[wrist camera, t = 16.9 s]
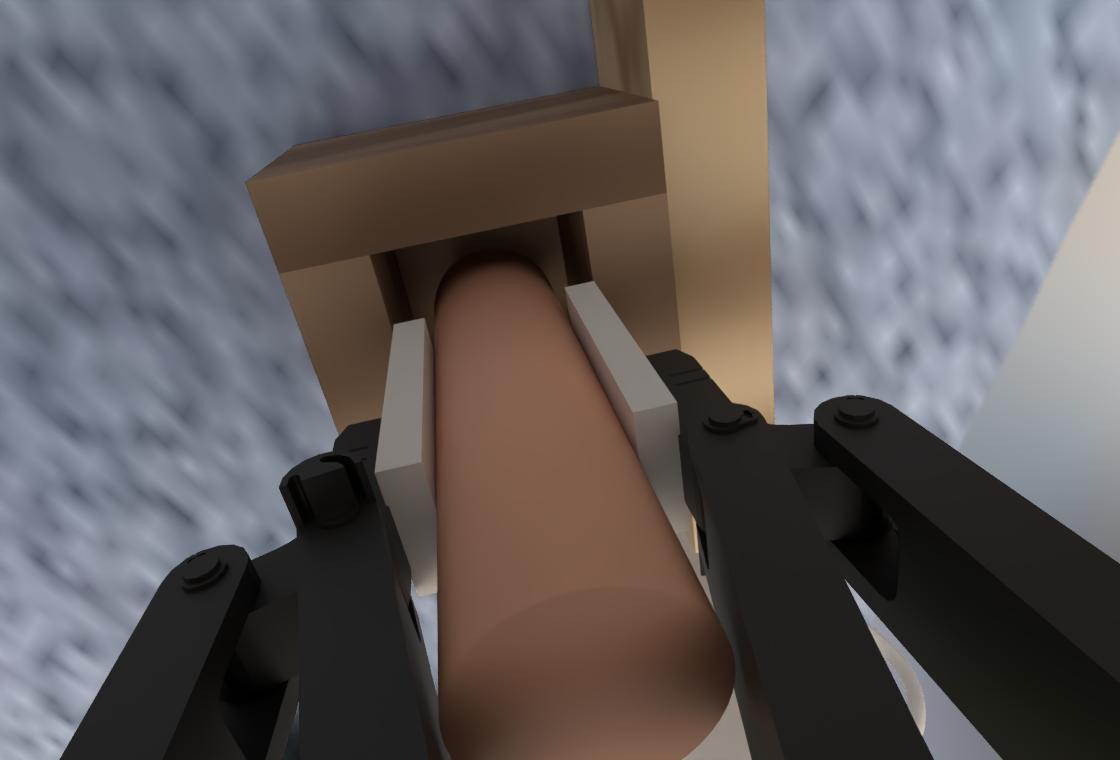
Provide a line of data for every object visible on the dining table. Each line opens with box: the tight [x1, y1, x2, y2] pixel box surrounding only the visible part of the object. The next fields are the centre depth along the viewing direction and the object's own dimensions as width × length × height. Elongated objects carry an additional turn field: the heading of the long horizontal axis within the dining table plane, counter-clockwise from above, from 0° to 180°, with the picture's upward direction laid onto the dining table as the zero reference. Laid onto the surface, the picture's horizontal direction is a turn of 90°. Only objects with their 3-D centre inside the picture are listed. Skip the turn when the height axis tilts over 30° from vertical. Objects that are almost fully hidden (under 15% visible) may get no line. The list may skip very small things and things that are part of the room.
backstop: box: [589, 0, 774, 553], centre depth 22 cm, size 20×3×6 cm, turn 10°
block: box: [245, 86, 681, 435], centre depth 22 cm, size 10×10×6 cm
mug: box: [676, 531, 926, 760], centre depth 27 cm, size 12×8×12 cm
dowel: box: [434, 249, 736, 760], centre depth 14 cm, size 4×4×14 cm
